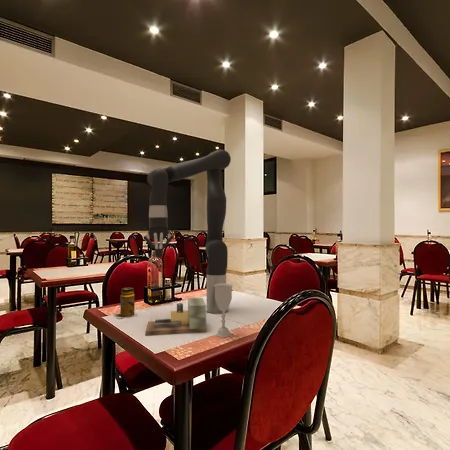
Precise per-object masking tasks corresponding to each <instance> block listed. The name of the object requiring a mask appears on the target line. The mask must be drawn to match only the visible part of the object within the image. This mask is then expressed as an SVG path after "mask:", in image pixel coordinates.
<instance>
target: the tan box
mask: <svg viewBox="0 0 450 450" xmlns="http://www.w3.org/2000/svg"><path fill="white" fill-rule="evenodd" d="M170 319H171V323H172V322H181V325H189V310H188V309H187V310H186V309H185V310H184V303H181V302H180V303H177V304H176V310H171V311H170Z"/></svg>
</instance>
